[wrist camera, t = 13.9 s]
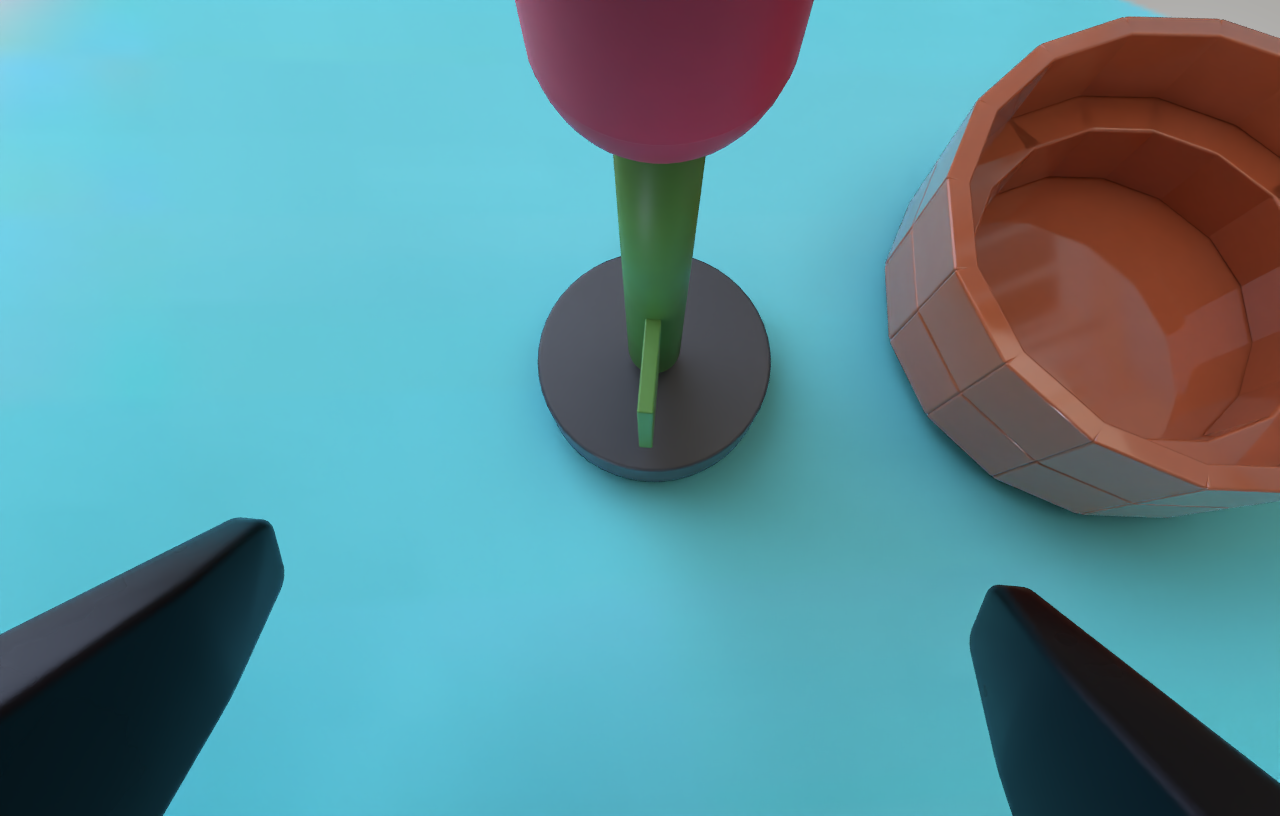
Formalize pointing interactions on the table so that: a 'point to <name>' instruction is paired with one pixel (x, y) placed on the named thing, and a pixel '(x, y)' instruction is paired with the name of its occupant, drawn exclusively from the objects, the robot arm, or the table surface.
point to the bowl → (1107, 272)
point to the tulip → (658, 224)
